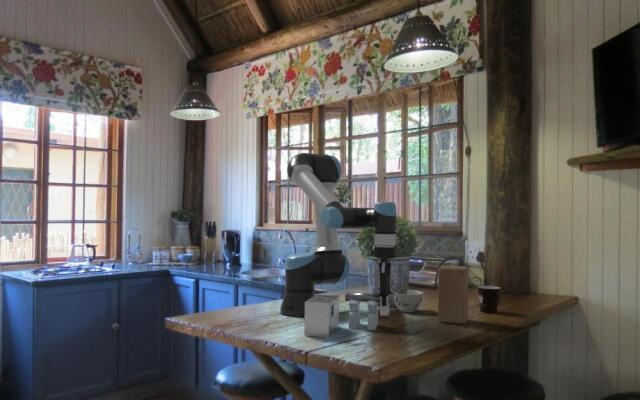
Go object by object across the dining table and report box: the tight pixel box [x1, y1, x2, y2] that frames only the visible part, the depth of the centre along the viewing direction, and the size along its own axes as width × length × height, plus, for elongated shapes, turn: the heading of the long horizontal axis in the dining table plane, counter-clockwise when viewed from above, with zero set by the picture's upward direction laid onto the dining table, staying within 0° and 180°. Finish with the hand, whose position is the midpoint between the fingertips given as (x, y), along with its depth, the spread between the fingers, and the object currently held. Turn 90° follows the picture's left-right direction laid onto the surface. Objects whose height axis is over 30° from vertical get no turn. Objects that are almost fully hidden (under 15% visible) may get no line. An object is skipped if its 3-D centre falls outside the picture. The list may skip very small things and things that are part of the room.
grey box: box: [303, 293, 340, 338], centre depth 170 cm, size 8×16×11 cm, turn 166°
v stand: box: [348, 300, 379, 331], centre depth 178 cm, size 9×9×10 cm
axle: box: [344, 291, 393, 304], centre depth 178 cm, size 16×3×3 cm, turn 76°
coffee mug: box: [477, 285, 501, 314], centre depth 206 cm, size 12×9×10 cm
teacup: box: [393, 289, 424, 313], centre depth 208 cm, size 15×12×8 cm
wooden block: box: [437, 265, 469, 325], centre depth 189 cm, size 10×10×20 cm
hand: (384, 314), depth 176 cm, fingers closed on axle, 3 cm apart
